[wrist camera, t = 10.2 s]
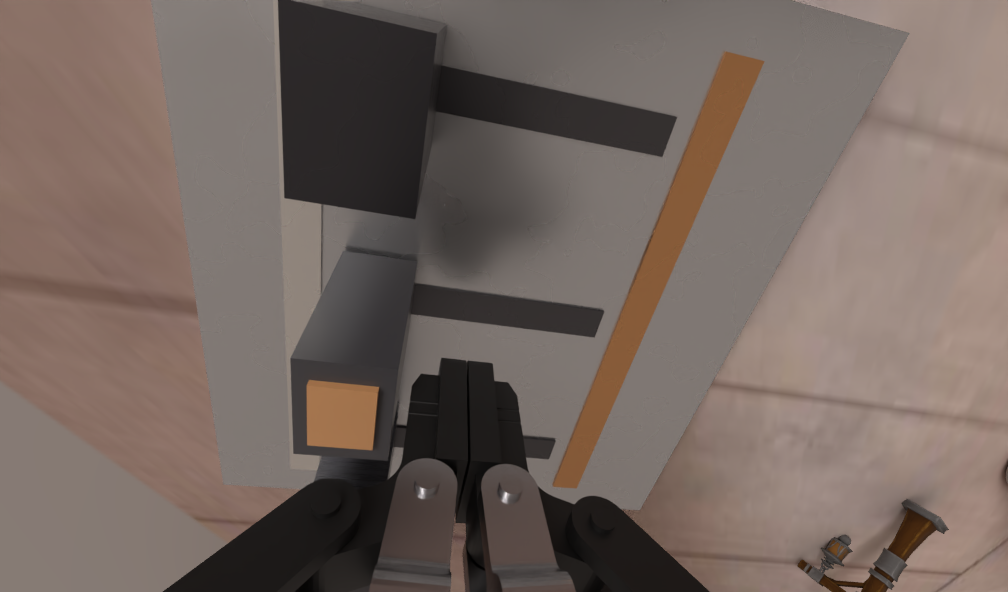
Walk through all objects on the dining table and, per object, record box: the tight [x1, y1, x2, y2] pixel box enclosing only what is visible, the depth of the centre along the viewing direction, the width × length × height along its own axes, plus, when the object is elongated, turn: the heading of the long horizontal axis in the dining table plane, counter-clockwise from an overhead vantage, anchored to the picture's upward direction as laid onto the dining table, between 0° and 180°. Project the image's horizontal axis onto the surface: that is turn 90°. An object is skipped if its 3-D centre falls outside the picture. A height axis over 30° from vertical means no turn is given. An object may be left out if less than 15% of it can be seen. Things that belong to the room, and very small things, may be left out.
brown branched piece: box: [798, 499, 949, 592], centre depth 28 cm, size 2×8×4 cm, turn 132°
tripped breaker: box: [290, 251, 418, 461], centre depth 14 cm, size 2×3×6 cm
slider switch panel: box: [151, 0, 909, 592], centre depth 15 cm, size 20×22×7 cm
